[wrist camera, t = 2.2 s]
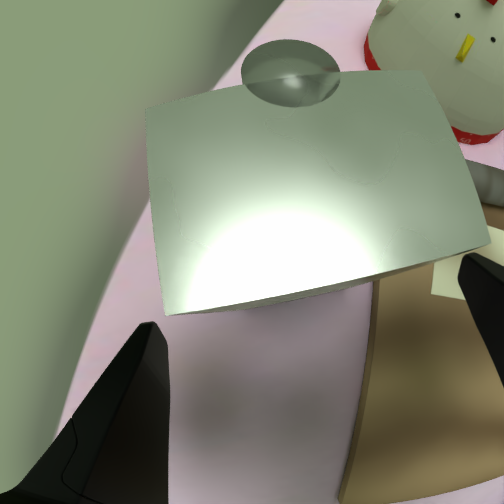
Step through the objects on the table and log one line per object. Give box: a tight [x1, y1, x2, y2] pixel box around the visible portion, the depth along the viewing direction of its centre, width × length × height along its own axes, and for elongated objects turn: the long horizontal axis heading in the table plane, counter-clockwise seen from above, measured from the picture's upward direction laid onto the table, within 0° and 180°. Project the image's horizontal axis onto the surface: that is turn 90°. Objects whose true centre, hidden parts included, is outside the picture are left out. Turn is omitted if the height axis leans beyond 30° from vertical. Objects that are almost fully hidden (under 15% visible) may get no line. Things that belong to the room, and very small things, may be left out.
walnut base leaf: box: [338, 159, 504, 504], centre depth 14 cm, size 22×14×4 cm, turn 174°
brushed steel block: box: [145, 40, 492, 316], centre depth 12 cm, size 5×6×13 cm
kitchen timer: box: [364, 0, 504, 145], centre depth 12 cm, size 14×14×15 cm
